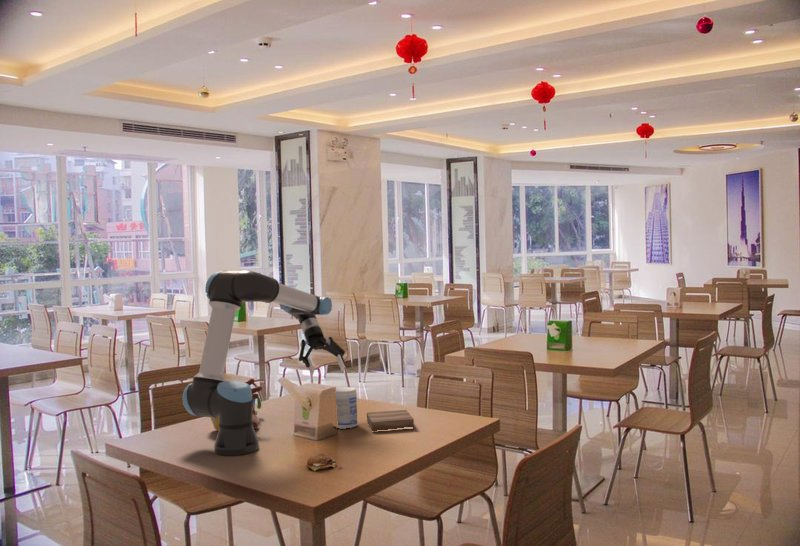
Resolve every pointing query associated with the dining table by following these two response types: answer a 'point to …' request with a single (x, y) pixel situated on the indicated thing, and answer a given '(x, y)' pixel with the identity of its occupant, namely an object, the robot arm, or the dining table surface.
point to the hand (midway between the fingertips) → (328, 371)
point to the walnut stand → (389, 420)
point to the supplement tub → (346, 407)
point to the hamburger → (321, 462)
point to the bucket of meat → (254, 396)
